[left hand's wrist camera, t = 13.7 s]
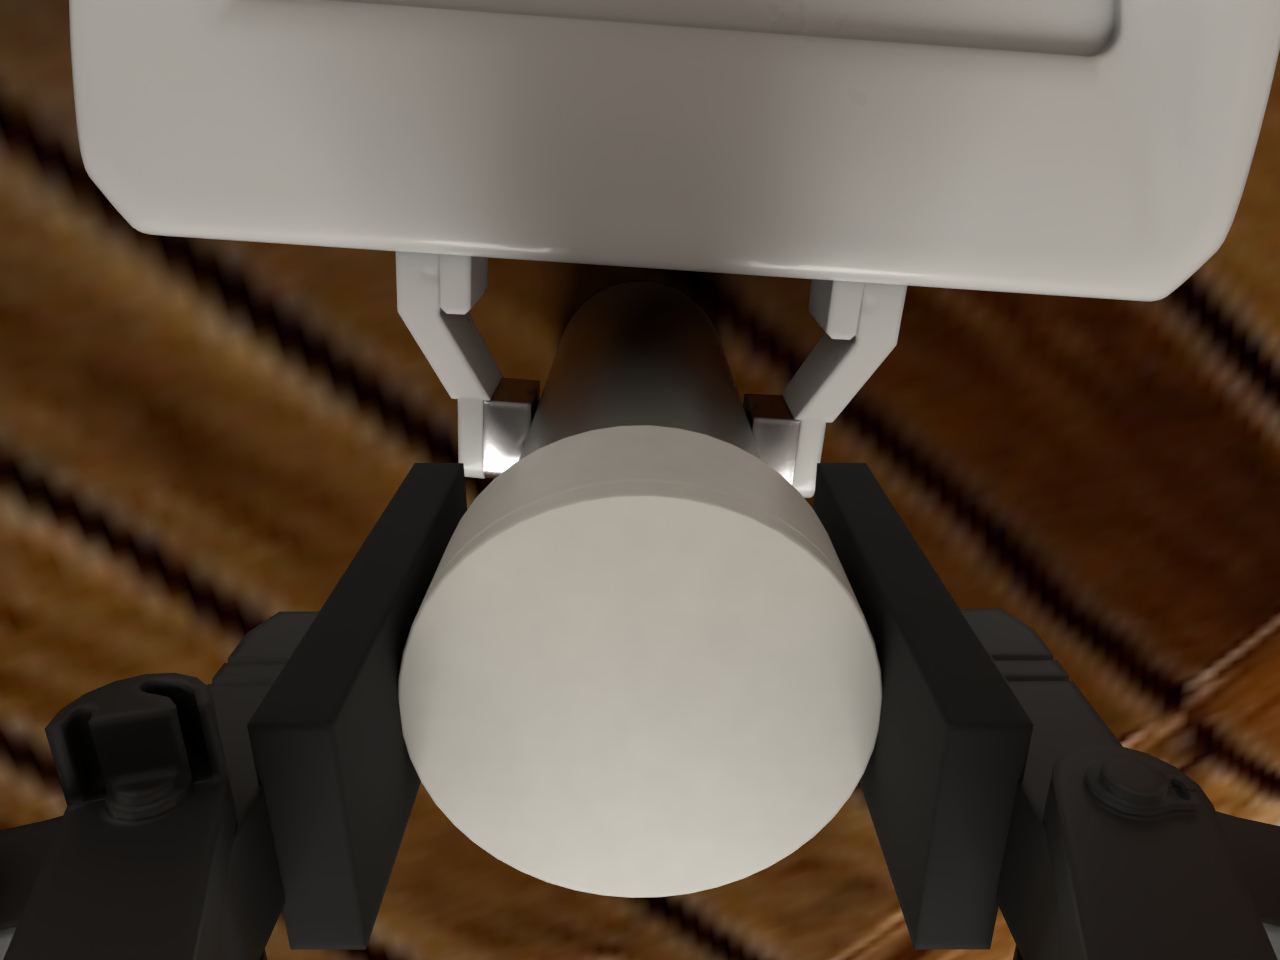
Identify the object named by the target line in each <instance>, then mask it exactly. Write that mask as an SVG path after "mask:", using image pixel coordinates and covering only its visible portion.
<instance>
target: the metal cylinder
mask: <svg viewBox="0 0 1280 960" xmlns="http://www.w3.org/2000/svg"><path fill="white" fill-rule="evenodd" d="M644 425H651V426H660V427H670V428H679V429H683V430H688V431H692V432H696V433H701V434H705V435H708V436H711V437H713V438H716V439H719V440H722V441H724V442H727V443H730V444H732V445H734V446H736V447H738V448H740V449H742V450H744V451H746V452H748V453H750V454H751V455H753V456H755V457H757V458H759V459H760V460H761V461H762V459H761V457H760V454H759V451H758V448H757V445H756V442H755V439H754V437H753V434H752V431H751V428H750V425H749V422H748V419H747V417H746V414H745V411H744V408H743V405H742V402H741V399H740V397H739V394H738V391H737V388H736V385H735V382H734V379H733V377H732V374H731V371H730V368H729V365H728V362H727V359H726V357H725V354H724V351H723V348H722V345H721V342H720V340H719V337H718V334H717V332H716V329H715V327H714V325H713V323H712V322H711V320H710V318H709V317H708V315H707V314H706V313H705V312H704V310H703V309H702V308H701V307H700V306H699V305H698V304H697V303H696V302H695V301H694V300H692V299H691V298H690V297H688V296H687V295H686V294H684V293H682V292H680V291H678V290H677V289H674V288H672V287H669V286H667V285H663V284H659V283H655V282H646V281H635V282H627V283H621V284H618V285H614V286H611V287H609V288H606V289H604V290H602V291H600V292H598V293H597V294H595V295H594V296H592V297H591V298H589V299H588V300H587V301H586V302H585V303H583V304H582V305H581V306H580V308H579V309H578V310H577V311H576V312H575V313H574V315H573V316H572V318H571V319H570V320H569V322H568V324H567V326H566V328H565V330H564V333H563V336H562V338H561V341H560V344H559V347H558V350H557V353H556V355H555V358H554V361H553V364H552V367H551V370H550V373H549V375H548V378H547V381H546V384H545V387H544V390H543V393H542V395H541V398H540V401H539V404H538V407H537V410H536V413H535V415H534V418H533V421H532V424H531V427H530V430H529V433H528V435H527V438H526V441H525V444H524V447H523V450H522V453H521V456H520V458H519V460H521V459H522V458H524V457H526V456H527V455H529V454H531V453H533V452H534V451H536V450H538V449H540V448H542V447H544V446H547V445H549V444H551V443H554V442H556V441H559V440H561V439H563V438H566V437H570V436H573V435H577V434H580V433H584V432H588V431H591V430H597V429H604V428H611V427H617V426H644Z"/></svg>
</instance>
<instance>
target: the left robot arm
mask: <svg viewBox="0 0 1280 960" xmlns="http://www.w3.org/2000/svg"><path fill="white" fill-rule="evenodd" d="M813 510H814V511H815V513H816V515H817V516H818V518H819V520H820V521H821V523H822V525H823V526H824V528H825V530H826V532H827V533H828V536H829V538H830V540H831V542H832V545H833V547H834V549H835V551H836V554H837V556H838V558H839V560H840V563H841V565H842V567H843V569H844V572H845V574H846V576H847V578H848V581H849V583H850V585H851V587H852V590H853V592H854V594H855V596H856V599H857V601H858V603H859V605H860V608H861V610H862V612H863V614H864V617H865V619H866V622H867V624H868V627H869V629H870V632H871V634H872V637H873V639H874V642H875V645H876V650H877V654H878V658H879V663H880V667H881V677H882V704H881V712H880V721H879V729H878V734H877V738H876V742H875V746H874V750H873V752H872V754H871V757H870V759H869V762H868V764H867V767H866V769H865V771H864V774H863V775H862V777H861V779H860V784H861V787H862V790H863V793H864V796H865V799H866V802H867V805H868V808H869V811H870V814H871V818H872V821H873V824H874V827H875V830H876V833H877V836H878V839H879V842H880V845H881V848H882V851H883V854H884V857H885V860H886V863H887V866H888V869H889V872H890V876H891V879H892V882H893V885H894V888H895V891H896V894H897V897H898V900H899V903H900V906H901V909H902V912H903V915H904V918H905V921H906V924H907V927H908V930H909V934H910V937H911V940H912V943H913V946H914V949H990V947H991V942H992V937H993V931H994V926H995V921H996V916H997V911H998V906H999V907H1000V909H1001V912H1002V914H1003V916H1004V918H1005V921H1006V923H1007V925H1008V927H1009V929H1010V932H1011V934H1012V936H1013V938H1014V940H1015V943H1016V948H1015V952H1014V957H1013V960H1280V826H1276V825H1271V824H1266V823H1262V822H1257V821H1252V820H1247V819H1243V818H1238V817H1234V816H1231V815H1227V814H1224V813H1220V812H1216V811H1215V809H1214V806H1213V804H1212V803H1211V802H1210V800H1209V799H1208V797H1207V796H1206V794H1205V793H1204V792H1203V790H1202V789H1201V787H1200V786H1199V785H1198V784H1197V783H1196V782H1194V781H1193V780H1192V779H1190V778H1189V777H1188V776H1186V775H1185V774H1184V773H1183V772H1181V771H1180V770H1179V769H1177V768H1176V767H1174V766H1172V765H1170V764H1168V763H1166V762H1164V761H1162V760H1160V759H1158V758H1156V757H1153V756H1151V755H1149V754H1147V753H1144V752H1140V751H1136V750H1132V749H1129V748H1125V747H1123V746H1122V745H1121V744H1120V742H1119V741H1118V740H1117V739H1116V737H1115V736H1114V735H1113V733H1112V732H1111V731H1110V729H1109V728H1108V727H1107V725H1106V724H1105V723H1104V721H1103V720H1102V719H1101V717H1100V716H1099V715H1098V714H1097V712H1096V711H1095V710H1094V708H1093V707H1092V706H1091V704H1090V703H1089V702H1088V700H1087V699H1086V698H1085V696H1084V695H1083V694H1082V693H1081V691H1080V690H1079V689H1078V687H1077V686H1076V685H1075V683H1074V682H1073V681H1069V675H1068V674H1067V673H1066V671H1065V670H1064V669H1063V668H1062V666H1061V665H1060V664H1059V662H1058V661H1057V660H1053V654H1052V653H1051V652H1050V650H1049V649H1048V648H1047V647H1046V645H1045V644H1044V643H1043V641H1042V640H1041V639H1040V637H1039V636H1038V635H1037V633H1036V632H1035V631H1034V630H1033V629H1031V628H1030V627H1028V626H1027V625H1025V624H1024V623H1022V622H1021V621H1019V620H1018V619H1016V618H1015V617H1013V616H1012V615H1010V614H1009V613H1007V612H1006V611H1004V610H1003V609H959V608H958V606H957V605H956V603H955V601H954V600H953V598H952V597H951V595H950V594H949V592H948V591H947V589H946V587H945V586H944V584H943V583H942V581H941V580H940V578H939V577H938V575H937V573H936V572H935V570H934V569H933V567H932V566H931V564H930V563H929V561H928V559H927V558H926V556H925V555H924V553H923V552H922V550H921V549H920V547H919V545H918V544H917V542H916V541H915V539H914V538H913V536H912V535H911V533H910V531H909V530H908V528H907V527H906V525H905V524H904V522H903V521H902V519H901V517H900V516H899V514H898V513H897V511H896V510H895V508H894V507H893V505H892V503H891V502H890V500H889V499H888V497H887V496H886V494H885V493H884V491H883V489H882V488H881V486H880V485H879V483H878V482H877V480H876V479H875V477H874V475H873V474H872V472H871V471H870V469H869V468H868V466H867V465H866V463H817V471H816V483H815V496H814V509H813ZM466 511H467V502H466V489H465V476H464V463H415V464H414V465H413V467H412V469H411V470H410V472H409V473H408V475H407V476H406V478H405V479H404V481H403V483H402V484H401V486H400V487H399V489H398V490H397V492H396V494H395V495H394V497H393V498H392V500H391V501H390V503H389V504H388V506H387V508H386V509H385V511H384V512H383V514H382V515H381V517H380V518H379V520H378V522H377V523H376V525H375V526H374V528H373V529H372V531H371V532H370V534H369V536H368V537H367V539H366V540H365V542H364V543H363V545H362V546H361V548H360V550H359V551H358V553H357V554H356V556H355V557H354V559H353V560H352V562H351V564H350V565H349V567H348V568H347V570H346V571H345V573H344V574H343V576H342V578H341V579H340V581H339V582H338V584H337V585H336V587H335V588H334V590H333V592H332V593H331V595H330V596H329V598H328V599H327V601H326V602H325V604H324V606H323V607H322V609H321V610H320V612H278V613H277V614H275V615H274V616H272V617H271V618H269V619H268V620H266V621H265V622H263V623H262V624H260V625H259V626H257V627H256V628H254V629H253V630H251V631H250V632H248V633H247V634H246V635H245V637H244V638H243V639H242V640H241V642H240V643H239V644H238V646H237V647H236V648H235V650H234V651H233V652H232V654H231V655H230V656H229V658H228V663H224V664H223V666H222V667H221V668H220V670H219V671H218V672H217V674H216V675H215V676H214V678H213V679H212V684H208V686H207V685H206V684H204V683H203V682H202V681H200V680H199V679H198V678H196V677H191V676H187V675H182V674H177V673H161V674H145V675H140V676H136V677H132V678H128V679H123V680H119V681H115V682H112V683H110V684H108V685H105V686H103V687H100V688H98V689H96V690H93V691H91V692H89V693H86V694H84V695H83V696H81V697H80V698H78V699H77V700H75V701H74V702H72V703H71V704H69V705H68V706H66V707H65V708H63V709H62V710H60V711H59V712H58V714H57V715H56V716H55V717H54V718H53V720H52V721H51V722H50V723H49V724H48V726H47V727H46V728H45V732H46V735H47V738H48V742H49V745H50V748H51V752H52V755H53V759H54V762H55V765H56V769H57V772H58V776H59V779H60V782H61V786H62V789H63V792H64V796H65V799H66V803H67V808H66V810H65V813H64V815H63V816H60V817H57V818H53V819H49V820H46V821H42V822H37V823H32V824H28V825H23V826H18V827H14V828H9V829H4V830H0V960H267V957H266V952H265V946H266V944H267V942H268V940H269V938H270V935H271V933H272V931H273V929H274V926H275V924H276V922H277V920H278V918H279V915H280V913H281V911H282V909H283V913H284V918H285V923H286V928H287V934H288V939H289V944H290V949H366V947H367V944H368V941H369V938H370V935H371V932H372V929H373V926H374V923H375V920H376V917H377V914H378V911H379V908H380V905H381V902H382V899H383V896H384V893H385V889H386V886H387V883H388V880H389V877H390V874H391V871H392V868H393V865H394V862H395V859H396V856H397V853H398V850H399V847H400V844H401V841H402V838H403V835H404V831H405V828H406V825H407V822H408V819H409V816H410V813H411V810H412V807H413V804H414V801H415V798H416V795H417V792H418V789H419V786H420V783H421V780H420V778H419V776H418V774H417V772H416V770H415V768H414V765H413V763H412V761H411V759H410V756H409V753H408V750H407V747H406V743H405V740H404V737H403V732H402V723H401V715H400V707H399V696H398V677H399V671H400V666H401V660H402V654H403V650H404V647H405V644H406V641H407V638H408V635H409V632H410V629H411V626H412V624H413V622H414V619H415V617H416V615H417V613H418V611H419V608H420V606H421V604H422V601H423V599H424V597H425V595H426V592H427V590H428V588H429V586H430V584H431V581H432V579H433V577H434V575H435V572H436V570H437V568H438V566H439V563H440V561H441V559H442V557H443V554H444V552H445V550H446V548H447V546H448V543H449V541H450V539H451V537H452V535H453V533H454V531H455V529H456V528H457V526H458V524H459V522H460V520H461V518H462V517H463V515H464V514H465V513H466Z"/></svg>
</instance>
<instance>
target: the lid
mask: <svg viewBox="0 0 1280 960" xmlns="http://www.w3.org/2000/svg"><path fill="white" fill-rule="evenodd" d="M398 696H399V707H400V715H401V723H402V732H403V737H404V740H405V743H406V747H407V750H408V753H409V756H410V759H411V761H412V763H413V765H414V768H415V770H416V772H417V774H418V776H419V778H420V780H421V782H422V784H423V785H424V787H425V788H426V790H427V791H428V793H429V794H430V796H431V797H432V799H433V800H434V802H435V803H436V805H437V806H438V807H439V808H440V809H441V810H442V812H443V813H444V814H445V815H446V816H447V817H448V818H449V820H450V821H451V822H452V823H453V824H454V825H455V826H456V827H457V828H458V829H459V830H461V831H462V832H463V833H464V834H465V835H466V836H467V837H468V838H469V839H471V840H472V841H473V842H474V843H475V844H477V845H478V846H480V847H481V848H483V849H484V850H485V851H487V852H488V853H490V854H491V855H493V856H494V857H495V858H497V859H499V860H501V861H503V862H504V863H506V864H508V865H510V866H512V867H514V868H515V869H517V870H519V871H521V872H523V873H526V874H528V875H531V876H533V877H536V878H538V879H541V880H543V881H545V882H548V883H552V884H555V885H559V886H562V887H565V888H569V889H572V890H576V891H582V892H587V893H593V894H598V895H605V896H618V897H630V898H637V897H665V896H673V895H682V894H689V893H694V892H698V891H703V890H707V889H712V888H716V887H719V886H722V885H725V884H728V883H731V882H734V881H737V880H740V879H743V878H746V877H748V876H750V875H752V874H754V873H757V872H759V871H761V870H763V869H765V868H768V867H769V866H771V865H773V864H775V863H776V862H778V861H780V860H781V859H783V858H785V857H786V856H788V855H790V854H791V853H793V852H794V851H795V850H797V849H798V848H799V847H801V846H802V845H803V844H805V843H806V842H807V841H809V840H810V839H811V838H813V837H814V836H815V835H816V834H817V833H818V832H819V831H820V830H821V829H822V828H823V827H824V826H825V825H826V824H827V823H828V822H829V821H830V820H831V819H832V818H833V817H834V816H835V815H836V814H837V812H838V811H839V810H840V809H841V807H842V806H843V805H844V803H845V802H846V801H847V800H848V798H849V797H850V796H851V794H852V792H853V791H854V789H855V787H856V786H857V784H858V782H859V781H860V779H861V777H862V775H863V774H864V771H865V769H866V767H867V764H868V762H869V759H870V757H871V754H872V752H873V750H874V746H875V742H876V738H877V734H878V729H879V721H880V712H881V704H882V677H881V667H880V663H879V658H878V654H877V650H876V645H875V642H874V639H873V637H872V634H871V632H870V629H869V627H868V624H867V622H866V619H865V617H864V614H863V612H862V610H861V608H860V605H859V603H858V601H857V599H856V596H855V594H854V592H853V590H852V587H851V585H850V583H849V581H848V578H847V576H846V574H845V572H844V569H843V567H842V565H841V563H840V560H839V558H838V556H837V554H836V551H835V549H834V547H833V545H832V542H831V540H830V538H829V536H828V533H827V532H826V530H825V528H824V526H823V525H822V523H821V521H820V520H819V518H818V516H817V515H816V513H815V511H814V510H813V509H812V507H811V506H810V505H809V504H808V502H807V501H806V500H805V499H804V497H803V496H802V495H801V494H800V493H799V491H798V490H797V489H796V488H795V487H793V486H792V485H791V484H790V483H789V482H788V481H787V480H786V479H785V478H784V477H783V476H782V475H781V474H780V473H778V472H777V471H775V470H774V469H773V468H771V467H770V466H768V465H767V464H766V463H764V462H763V461H761V460H760V459H759V458H757V457H755V456H753V455H751V454H750V453H748V452H746V451H744V450H742V449H740V448H738V447H736V446H734V445H732V444H730V443H727V442H724V441H722V440H719V439H716V438H713V437H711V436H708V435H705V434H701V433H696V432H692V431H688V430H683V429H679V428H670V427H660V426H651V425H644V426H617V427H611V428H604V429H597V430H591V431H588V432H584V433H580V434H577V435H573V436H570V437H566V438H563V439H561V440H559V441H556V442H554V443H551V444H549V445H547V446H544V447H542V448H540V449H538V450H536V451H534V452H533V453H531V454H529V455H527V456H526V457H524V458H522V459H521V460H519V461H517V462H516V463H514V464H513V465H512V466H510V467H509V468H508V469H507V470H505V471H504V472H503V473H501V474H500V475H499V476H498V477H496V478H495V479H494V480H493V481H492V482H491V483H490V484H489V485H488V486H487V487H486V488H485V489H484V490H483V491H482V492H481V493H480V494H479V495H478V496H477V498H476V499H475V500H474V501H473V503H472V504H471V506H470V507H469V508H468V510H467V511H466V513H465V514H464V515H463V517H462V518H461V520H460V522H459V524H458V526H457V528H456V529H455V531H454V533H453V535H452V537H451V539H450V541H449V543H448V546H447V548H446V550H445V552H444V554H443V557H442V559H441V561H440V563H439V566H438V568H437V570H436V572H435V575H434V577H433V579H432V581H431V584H430V586H429V588H428V590H427V592H426V595H425V597H424V599H423V601H422V604H421V606H420V608H419V611H418V613H417V615H416V617H415V619H414V622H413V624H412V626H411V629H410V632H409V635H408V638H407V641H406V644H405V647H404V650H403V654H402V660H401V666H400V671H399V677H398Z"/></svg>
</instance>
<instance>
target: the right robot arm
mask: <svg viewBox="0 0 1280 960" xmlns="http://www.w3.org/2000/svg"><path fill="white" fill-rule="evenodd" d="M69 13H70V42H71V58H72V74H73V88H74V99H75V111H76V122H77V131H78V138H79V145H80V151H81V156H82V159H83V163H84V167H85V169H86V171H87V173H88V175H89V177H90V178H91V179H92V181H93V182H94V183H95V184H96V185H97V187H98V188H99V189H100V190H101V191H102V193H103V194H104V195H105V196H106V198H107V199H108V200H109V201H110V202H111V204H112V205H113V206H114V207H115V208H116V210H117V211H118V212H119V213H120V214H121V215H122V216H123V217H124V218H125V219H126V221H127V222H128V223H129V224H130V225H131V226H132V227H133V228H135V229H136V230H138V231H140V232H142V233H146V234H151V235H163V236H177V237H192V238H207V239H222V240H237V241H252V242H267V243H282V244H297V245H312V246H327V247H341V248H356V249H371V250H386V251H396V277H397V307H398V313H399V314H400V316H401V318H402V319H403V321H404V323H405V324H406V326H407V327H408V329H409V331H410V332H411V334H412V335H413V337H414V339H415V340H416V342H417V344H418V345H419V347H420V348H421V350H422V352H423V353H424V355H425V356H426V358H427V360H428V361H429V363H430V365H431V366H432V368H433V369H434V371H435V373H436V374H437V376H438V377H439V379H440V381H441V382H442V384H443V386H444V387H445V389H446V390H447V392H448V394H449V395H450V397H451V398H453V399H458V456H459V463H464V476H465V477H475V478H496V477H498V476H499V475H500V474H501V473H503V472H504V471H505V470H507V469H508V468H509V467H510V466H512V465H513V464H514V463H516V462H517V461H519V458H520V456H521V453H522V450H523V447H524V444H525V441H526V438H527V435H528V433H529V430H530V427H531V424H532V421H533V418H534V415H535V413H536V410H537V407H538V404H539V401H540V381H536V380H524V379H513V378H502V376H503V375H502V373H501V371H500V370H499V368H498V366H497V364H496V362H495V360H494V358H493V356H492V355H491V353H490V351H489V349H488V347H487V345H486V343H485V342H484V340H483V338H482V336H481V334H480V332H479V330H478V328H477V327H476V325H475V323H474V321H473V319H472V317H471V315H470V314H469V312H468V311H469V310H470V309H471V308H472V307H473V306H474V305H475V303H476V302H477V301H478V300H479V299H480V298H481V297H482V296H483V294H484V293H485V292H486V291H487V290H488V257H491V258H506V259H521V260H536V261H551V262H566V263H581V264H595V265H610V266H625V267H640V268H655V269H670V270H685V271H700V272H715V273H730V274H745V275H760V276H775V277H790V278H805V279H812V282H811V290H810V299H809V307H808V311H809V313H810V314H811V315H812V317H813V318H814V319H815V320H816V321H817V322H818V324H819V325H820V326H821V327H822V328H823V329H824V330H825V334H824V335H823V336H822V338H821V339H820V341H819V342H818V343H817V345H816V346H815V347H814V349H813V350H812V352H811V353H810V354H809V356H808V357H807V359H806V360H805V361H804V363H803V364H802V365H801V367H800V368H799V370H798V371H797V372H796V374H795V375H794V377H793V378H792V379H791V381H790V382H789V383H788V385H787V386H786V388H785V389H784V390H783V392H782V395H759V394H745V395H744V403H743V408H744V411H745V414H746V417H747V419H748V422H749V425H750V428H751V431H752V434H753V437H754V439H755V442H756V445H757V448H758V451H759V454H760V457H761V459H762V461H763V462H764V463H766V464H767V465H768V466H770V467H771V468H773V469H774V470H775V471H777V472H778V473H780V474H781V475H782V476H783V477H784V478H785V479H786V480H787V481H788V482H789V483H790V484H791V485H792V486H793V487H795V488H796V489H797V490H798V491H799V493H800V494H801V495H802V496H803V497H806V498H811V497H812V496H813V495H814V492H815V483H816V471H817V463H820V460H821V453H822V446H823V440H824V433H825V426H826V422H833V421H834V420H835V419H836V417H837V416H838V415H839V414H840V413H841V411H842V410H843V409H844V408H845V407H846V405H847V404H848V403H849V402H850V401H851V399H852V398H853V397H854V396H855V394H856V393H857V392H858V391H859V390H860V388H861V387H862V386H863V385H864V384H865V382H866V381H867V380H868V379H869V378H870V376H871V375H872V374H873V373H874V371H875V370H876V369H877V368H878V367H879V365H880V364H881V363H882V362H883V361H884V359H885V358H886V357H887V356H888V355H889V353H890V352H891V351H892V350H893V348H894V347H895V346H896V345H897V339H898V334H899V328H900V323H901V317H902V312H903V306H904V300H905V295H906V289H907V285H909V286H924V287H939V288H954V289H969V290H984V291H999V292H1014V293H1029V294H1044V295H1059V296H1074V297H1089V298H1104V299H1119V300H1134V301H1156V300H1160V299H1163V298H1165V297H1166V296H1168V295H1169V294H1170V293H1172V292H1173V291H1174V290H1175V289H1177V288H1178V287H1179V286H1180V285H1181V284H1183V283H1184V282H1185V281H1186V280H1187V279H1188V278H1189V277H1190V276H1191V275H1193V274H1194V273H1195V272H1196V271H1197V270H1198V269H1199V268H1200V267H1201V266H1202V265H1203V264H1204V263H1205V262H1206V261H1207V260H1208V259H1209V258H1211V257H1212V256H1213V255H1214V254H1215V253H1216V252H1217V251H1218V249H1219V248H1220V246H1221V245H1222V244H1223V242H1224V240H1225V238H1226V236H1227V234H1228V232H1229V230H1230V227H1231V225H1232V223H1233V220H1234V217H1235V214H1236V211H1237V208H1238V206H1239V203H1240V200H1241V197H1242V194H1243V191H1244V187H1245V184H1246V180H1247V177H1248V173H1249V170H1250V166H1251V163H1252V159H1253V155H1254V152H1255V148H1256V145H1257V141H1258V137H1259V133H1260V129H1261V125H1262V121H1263V118H1264V114H1265V110H1266V106H1267V102H1268V98H1269V94H1270V89H1271V85H1272V80H1273V76H1274V71H1275V67H1276V63H1277V58H1278V54H1279V49H1280V0H69Z"/></svg>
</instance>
